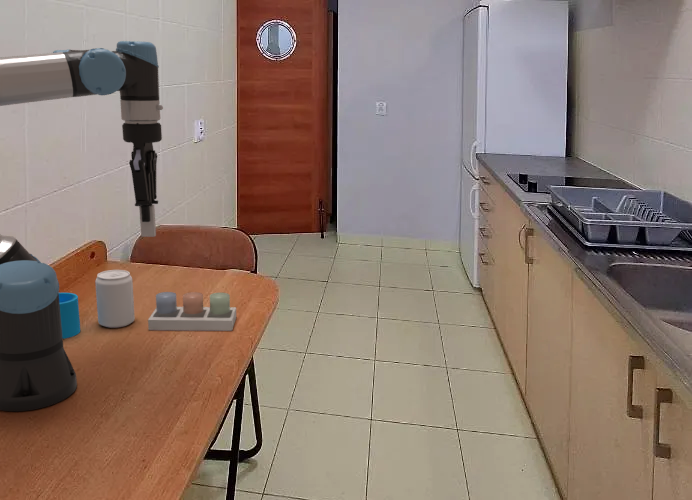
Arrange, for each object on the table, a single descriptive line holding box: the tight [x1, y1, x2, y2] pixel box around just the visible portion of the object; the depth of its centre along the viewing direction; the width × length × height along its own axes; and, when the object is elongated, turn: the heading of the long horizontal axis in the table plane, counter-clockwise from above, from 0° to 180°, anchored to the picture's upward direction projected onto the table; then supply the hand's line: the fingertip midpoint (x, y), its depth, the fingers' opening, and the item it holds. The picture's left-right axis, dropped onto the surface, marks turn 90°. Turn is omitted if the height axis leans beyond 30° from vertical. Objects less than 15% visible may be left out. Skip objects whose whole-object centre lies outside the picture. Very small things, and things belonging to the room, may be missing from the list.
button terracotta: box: [182, 291, 204, 314], centre depth 154 cm, size 5×5×4 cm
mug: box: [59, 292, 81, 340], centre depth 149 cm, size 12×8×8 cm
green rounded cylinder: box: [209, 292, 231, 314], centre depth 154 cm, size 5×5×4 cm
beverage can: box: [94, 269, 135, 329], centre depth 153 cm, size 8×8×12 cm
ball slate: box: [155, 291, 178, 314], centre depth 154 cm, size 5×5×4 cm
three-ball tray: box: [147, 306, 237, 332], centre depth 155 cm, size 9×19×2 cm, turn 93°
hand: (148, 235), depth 138 cm, fingers closed
